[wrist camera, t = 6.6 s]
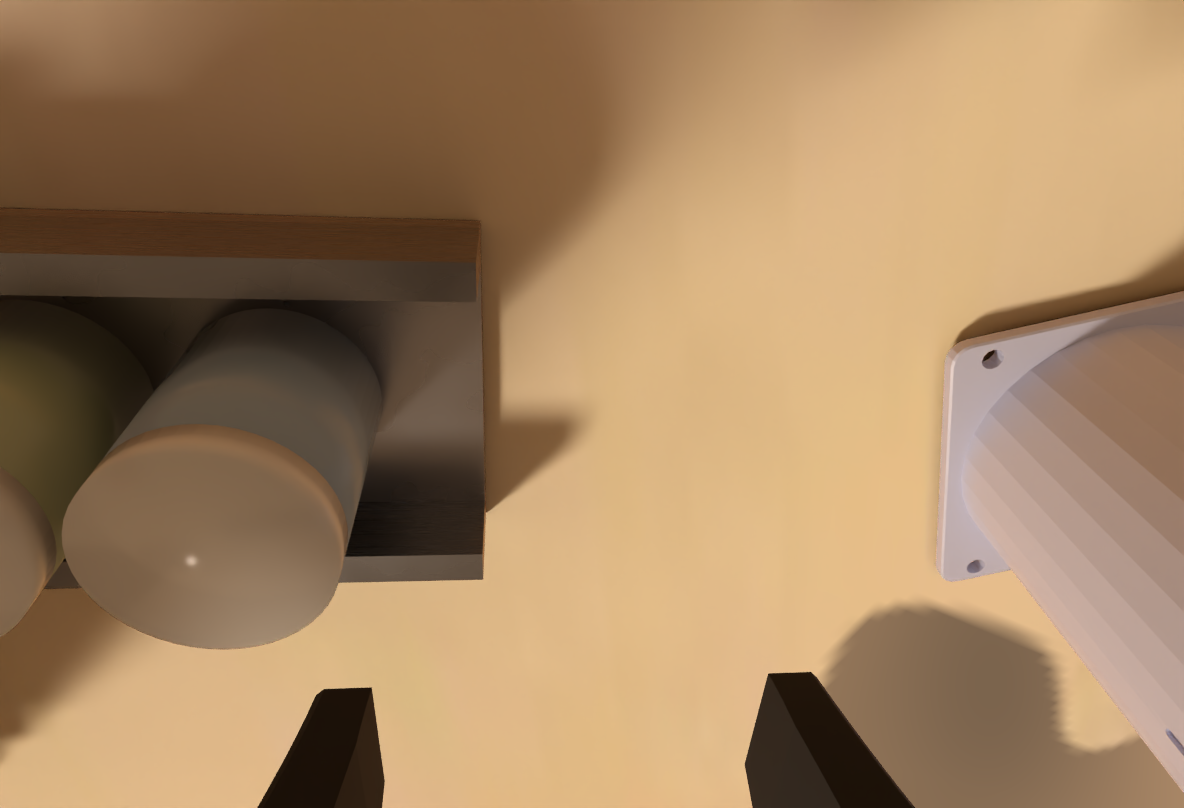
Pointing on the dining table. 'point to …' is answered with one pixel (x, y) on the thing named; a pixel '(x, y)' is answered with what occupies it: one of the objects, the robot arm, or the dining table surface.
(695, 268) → the dining table surface
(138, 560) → the jar
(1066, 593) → the robot arm
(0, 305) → the jar
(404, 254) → the lane
